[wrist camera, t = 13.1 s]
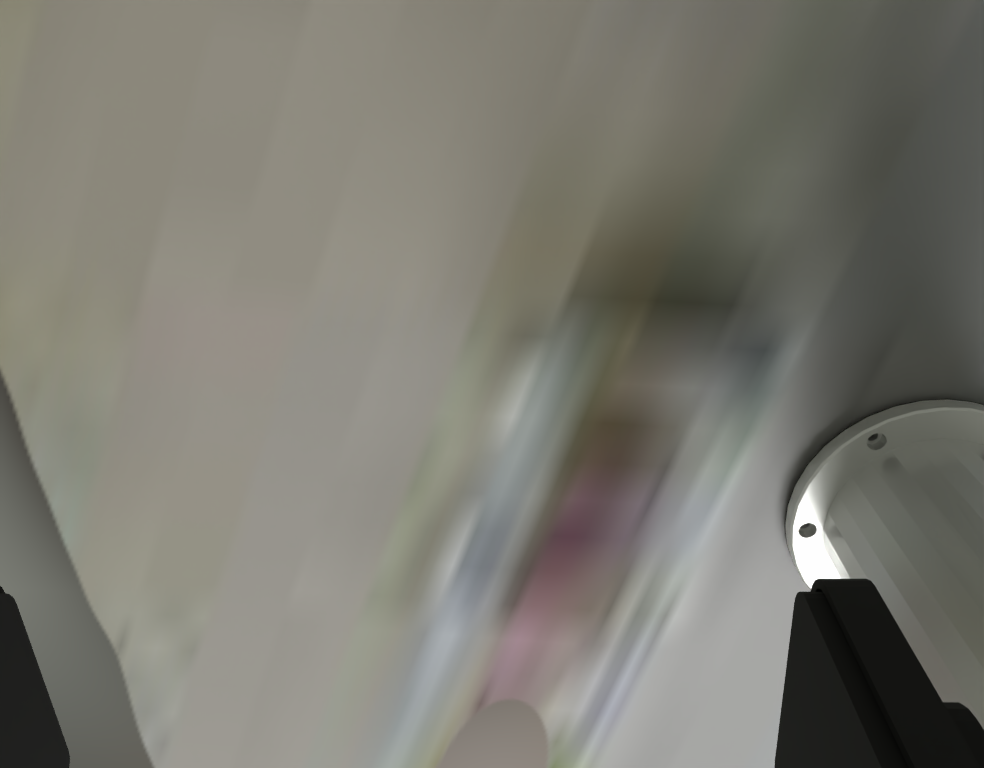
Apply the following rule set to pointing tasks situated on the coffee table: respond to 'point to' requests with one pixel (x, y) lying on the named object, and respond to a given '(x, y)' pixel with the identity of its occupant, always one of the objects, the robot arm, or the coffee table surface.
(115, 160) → the coffee table surface
